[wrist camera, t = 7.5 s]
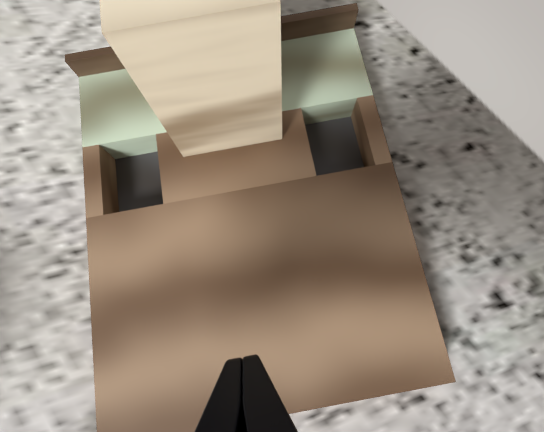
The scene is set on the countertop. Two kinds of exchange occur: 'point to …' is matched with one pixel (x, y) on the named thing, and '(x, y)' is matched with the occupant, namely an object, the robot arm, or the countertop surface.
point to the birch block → (203, 67)
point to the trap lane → (252, 246)
